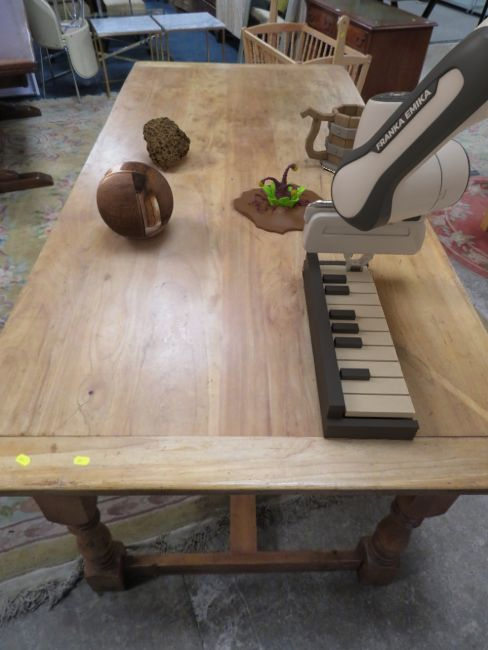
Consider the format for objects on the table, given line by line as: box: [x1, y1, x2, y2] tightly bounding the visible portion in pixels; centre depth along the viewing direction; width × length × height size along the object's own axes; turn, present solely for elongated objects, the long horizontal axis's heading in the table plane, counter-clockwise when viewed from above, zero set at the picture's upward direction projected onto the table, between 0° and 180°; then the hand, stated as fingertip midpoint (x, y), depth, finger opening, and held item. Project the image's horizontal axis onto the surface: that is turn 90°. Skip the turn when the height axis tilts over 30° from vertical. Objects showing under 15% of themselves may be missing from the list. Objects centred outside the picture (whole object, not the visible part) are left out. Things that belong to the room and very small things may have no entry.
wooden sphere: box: [95, 160, 175, 240], centre depth 87 cm, size 15×15×15 cm
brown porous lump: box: [142, 116, 192, 171], centre depth 114 cm, size 11×13×15 cm
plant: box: [233, 163, 324, 235], centre depth 95 cm, size 20×20×11 cm
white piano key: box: [343, 394, 416, 419], centre depth 58 cm, size 9×3×1 cm, turn 89°
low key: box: [320, 265, 369, 272], centre depth 80 cm, size 9×3×1 cm, turn 89°
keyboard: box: [301, 251, 421, 441], centre depth 69 cm, size 12×36×6 cm, turn 179°
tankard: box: [299, 103, 366, 172], centre depth 112 cm, size 20×13×15 cm, turn 92°
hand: (353, 270), depth 79 cm, fingers closed, pressing on low key
